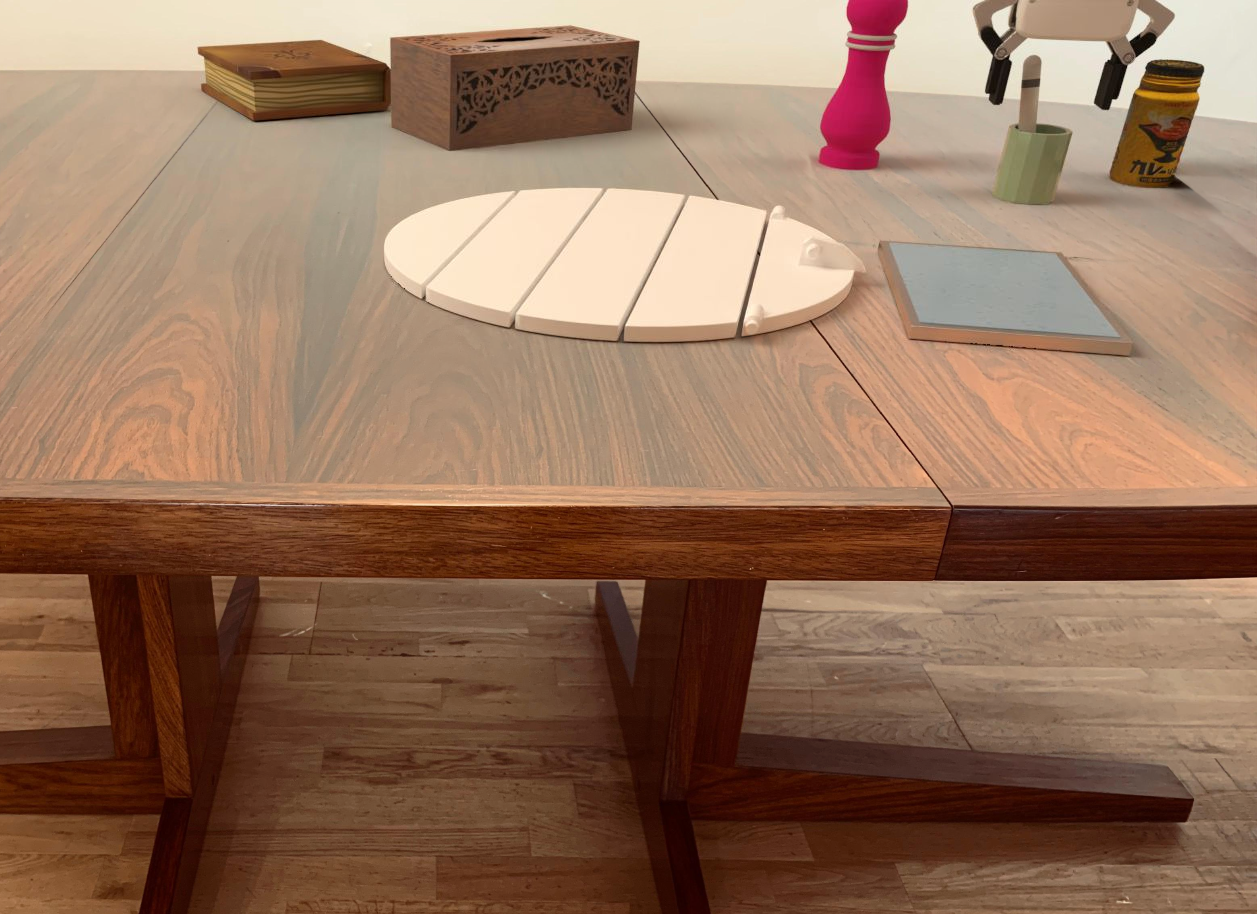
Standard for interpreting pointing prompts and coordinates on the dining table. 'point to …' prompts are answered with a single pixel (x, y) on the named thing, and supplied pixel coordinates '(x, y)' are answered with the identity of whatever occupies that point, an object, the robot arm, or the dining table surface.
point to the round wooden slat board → (618, 264)
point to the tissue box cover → (512, 85)
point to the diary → (295, 79)
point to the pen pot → (1031, 164)
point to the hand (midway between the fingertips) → (1047, 105)
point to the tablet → (998, 298)
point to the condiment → (1157, 124)
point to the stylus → (1029, 94)
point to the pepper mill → (862, 87)
